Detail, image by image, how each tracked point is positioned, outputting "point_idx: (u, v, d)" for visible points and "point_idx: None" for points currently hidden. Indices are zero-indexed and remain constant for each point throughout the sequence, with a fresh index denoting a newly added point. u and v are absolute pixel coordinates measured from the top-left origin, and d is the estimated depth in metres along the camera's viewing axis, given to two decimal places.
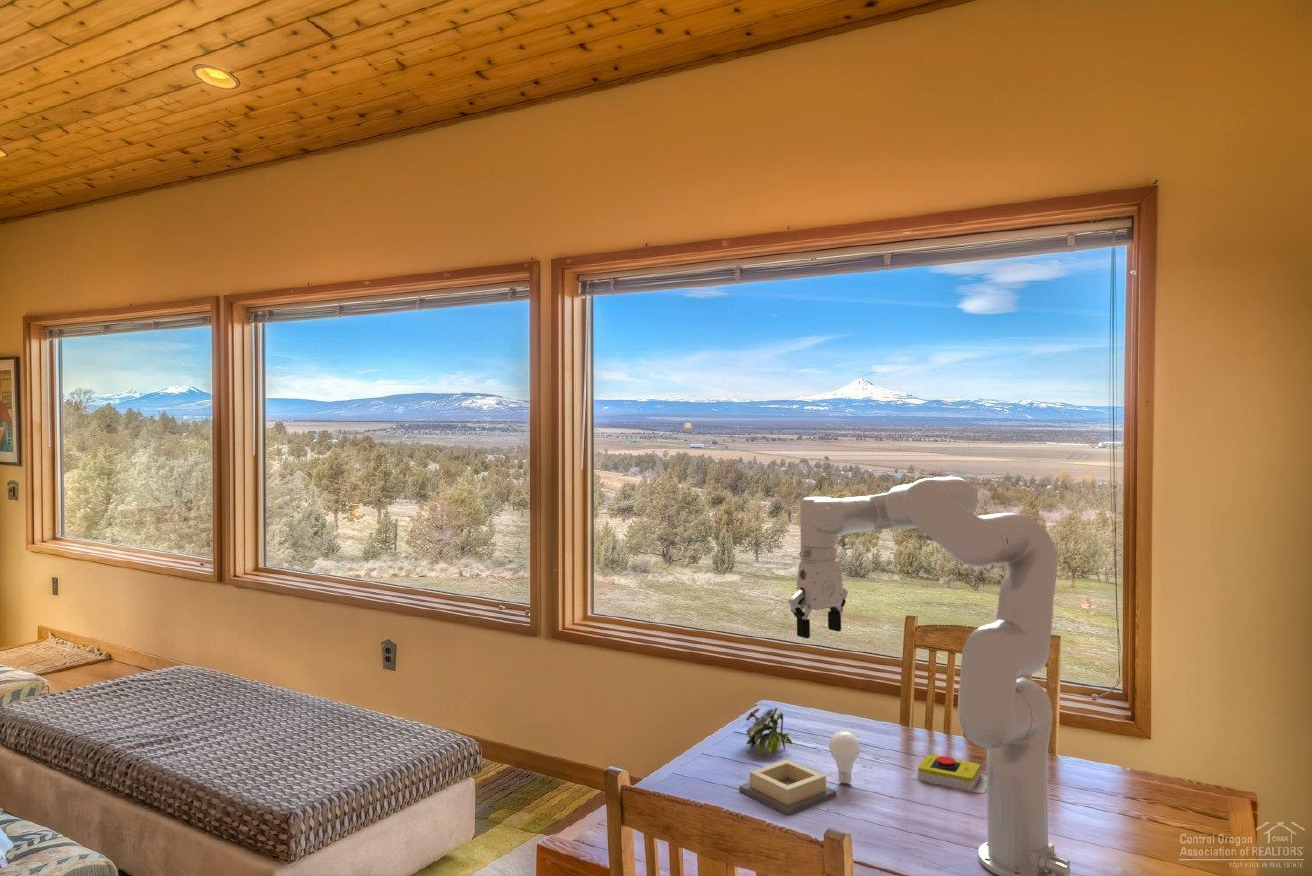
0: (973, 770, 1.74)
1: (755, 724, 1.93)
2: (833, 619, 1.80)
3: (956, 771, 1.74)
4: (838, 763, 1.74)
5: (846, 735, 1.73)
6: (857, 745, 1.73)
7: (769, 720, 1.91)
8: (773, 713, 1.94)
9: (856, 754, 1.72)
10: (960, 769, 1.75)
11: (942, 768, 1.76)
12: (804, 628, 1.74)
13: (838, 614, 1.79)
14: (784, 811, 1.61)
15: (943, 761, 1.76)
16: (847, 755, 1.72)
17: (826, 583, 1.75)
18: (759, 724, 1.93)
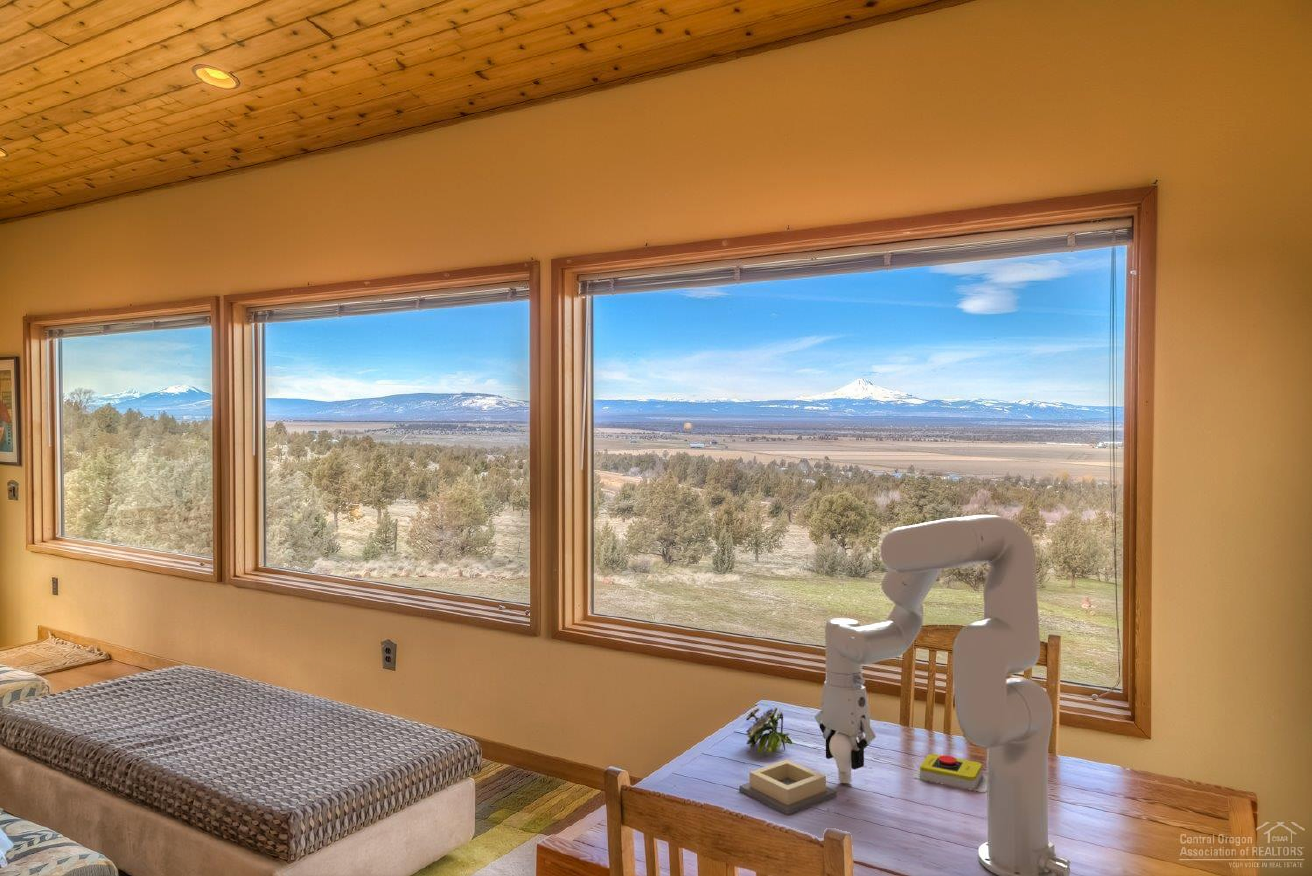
0: (975, 770, 1.75)
1: (755, 724, 1.93)
2: None
3: (958, 770, 1.75)
4: (838, 763, 1.74)
5: (846, 735, 1.73)
6: None
7: (769, 720, 1.91)
8: (773, 713, 1.94)
9: None
10: (962, 768, 1.76)
11: (944, 767, 1.76)
12: None
13: None
14: (784, 811, 1.61)
15: (945, 760, 1.77)
16: (847, 755, 1.72)
17: None
18: (759, 724, 1.93)
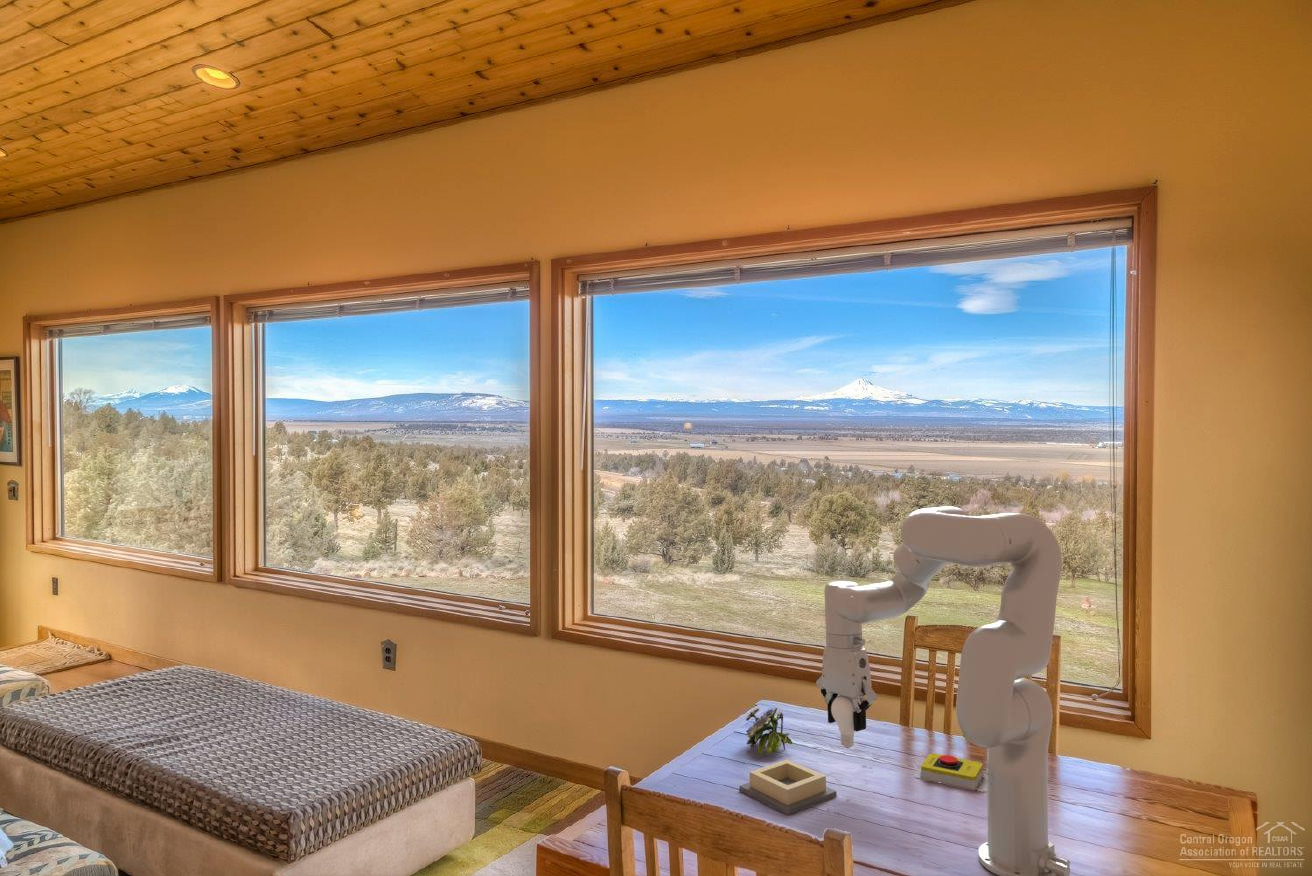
0: (976, 769, 1.75)
1: (755, 724, 1.93)
2: None
3: (958, 770, 1.75)
4: (840, 726, 1.73)
5: (848, 698, 1.73)
6: None
7: (769, 720, 1.91)
8: (773, 713, 1.94)
9: None
10: (963, 768, 1.76)
11: (945, 767, 1.76)
12: None
13: None
14: (784, 811, 1.61)
15: (946, 760, 1.77)
16: (849, 717, 1.71)
17: None
18: (759, 724, 1.93)
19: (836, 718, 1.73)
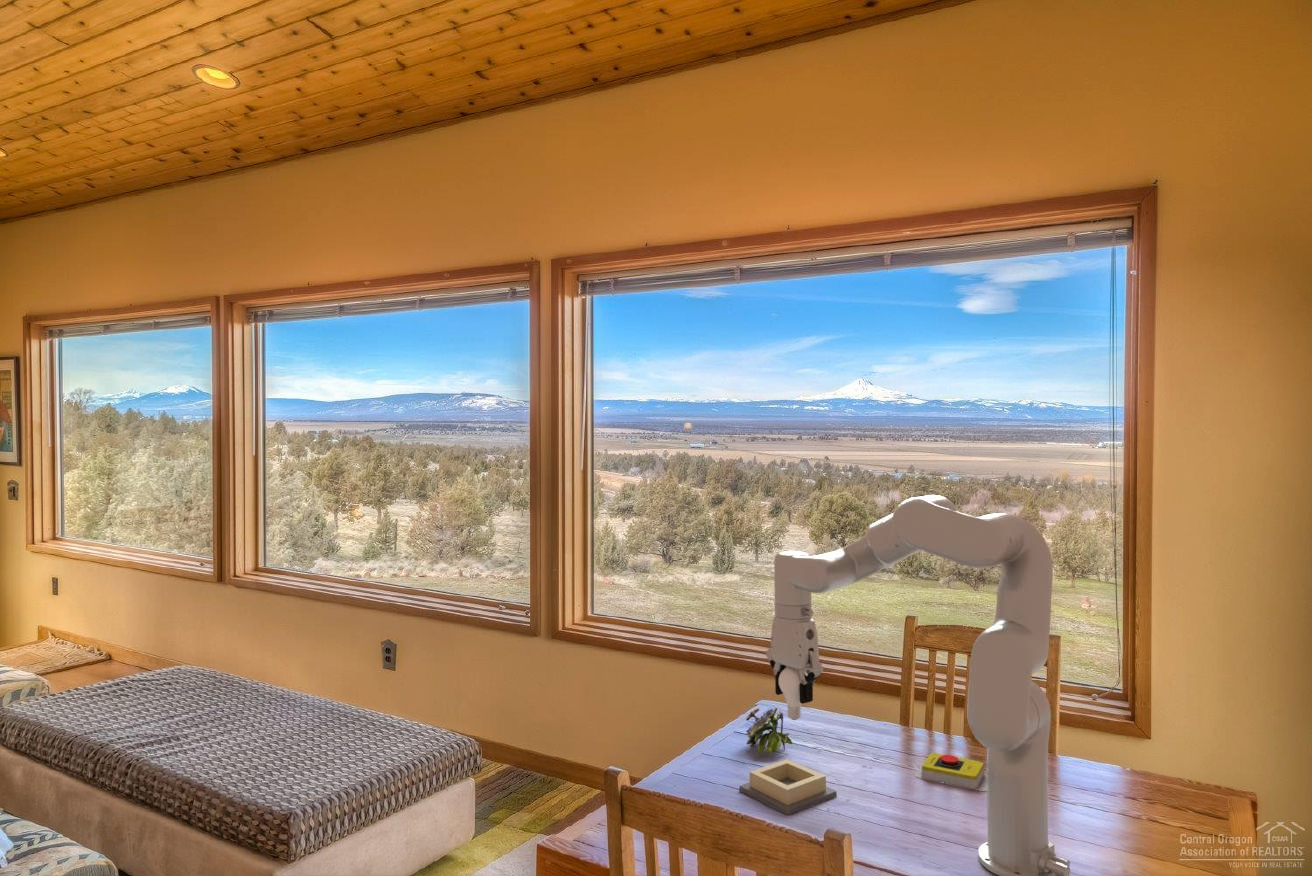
0: (977, 769, 1.75)
1: (755, 724, 1.93)
2: None
3: (959, 769, 1.75)
4: (787, 698, 1.70)
5: (795, 669, 1.70)
6: None
7: (769, 720, 1.91)
8: (773, 713, 1.94)
9: None
10: (963, 767, 1.76)
11: (946, 766, 1.76)
12: None
13: None
14: (784, 811, 1.61)
15: (947, 759, 1.77)
16: (796, 689, 1.68)
17: None
18: (759, 724, 1.93)
19: (783, 689, 1.69)
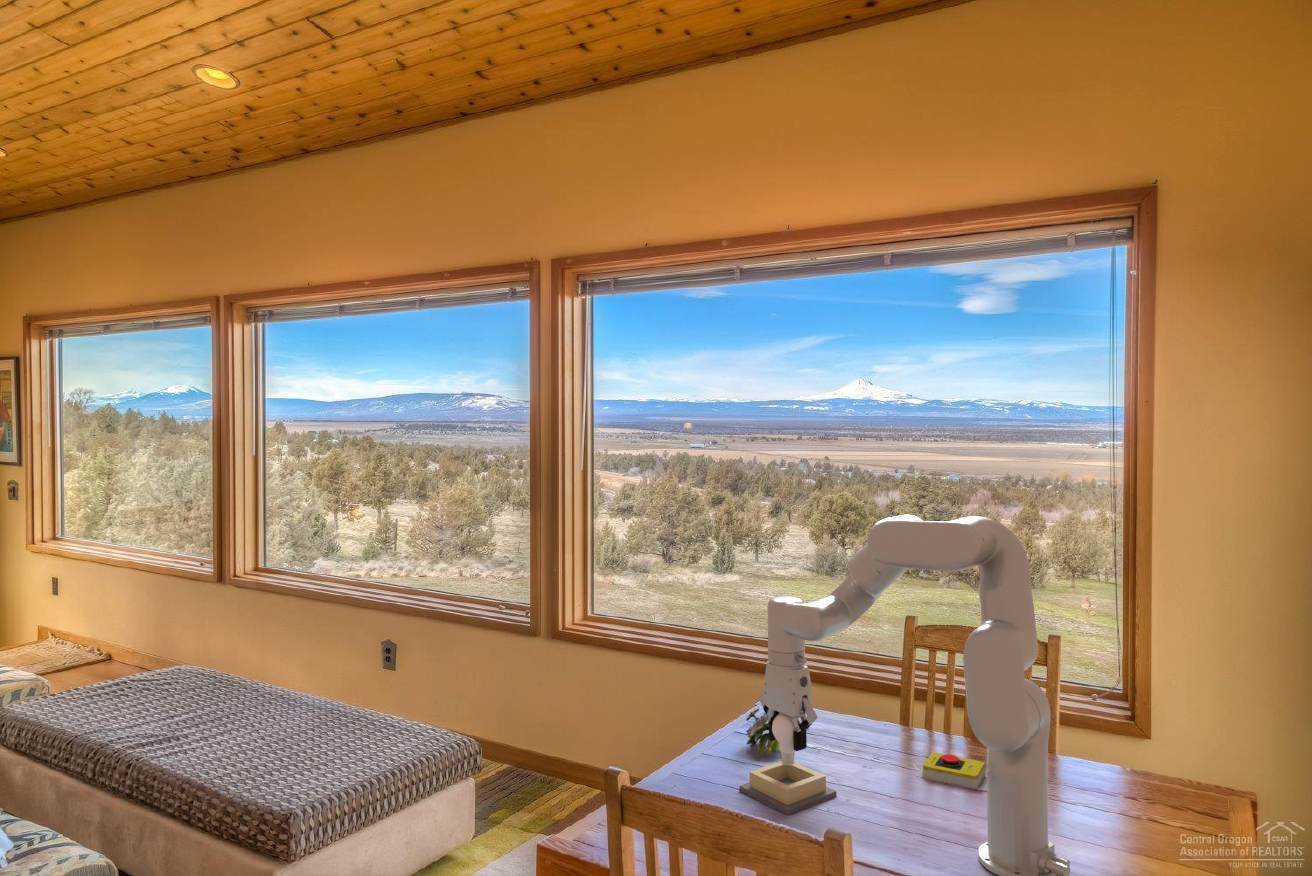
0: (978, 768, 1.75)
1: (755, 724, 1.93)
2: None
3: (960, 769, 1.75)
4: (780, 745, 1.69)
5: (789, 716, 1.69)
6: None
7: None
8: None
9: None
10: (964, 767, 1.76)
11: (946, 766, 1.77)
12: None
13: None
14: (784, 811, 1.61)
15: (947, 759, 1.77)
16: (789, 736, 1.67)
17: None
18: (759, 724, 1.93)
19: (776, 736, 1.69)
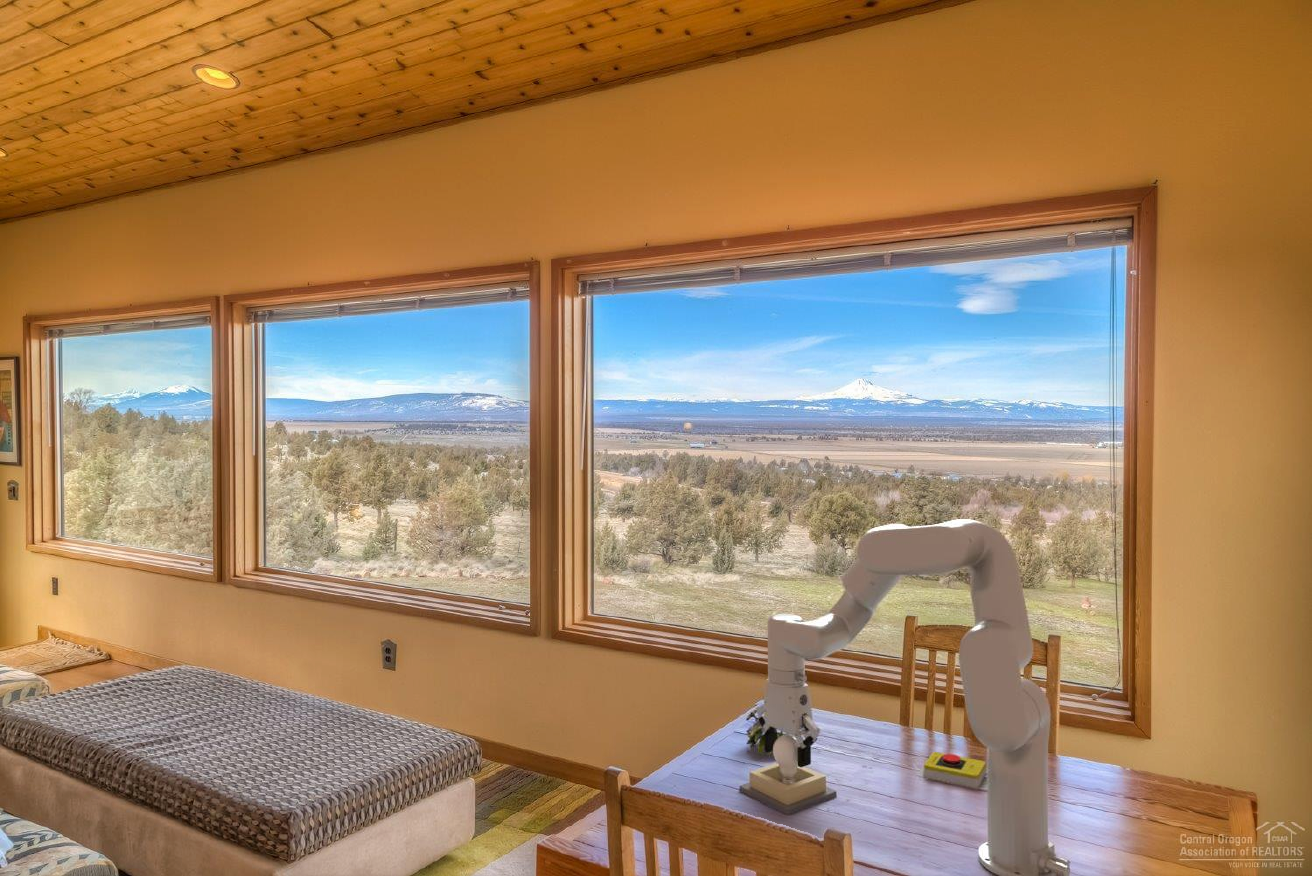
0: (979, 768, 1.76)
1: (755, 724, 1.93)
2: (772, 739, 1.74)
3: (961, 768, 1.75)
4: (781, 767, 1.69)
5: (790, 739, 1.69)
6: None
7: None
8: None
9: None
10: (965, 766, 1.76)
11: (948, 766, 1.77)
12: None
13: (776, 732, 1.75)
14: (784, 811, 1.61)
15: (949, 759, 1.78)
16: (790, 759, 1.67)
17: None
18: (759, 724, 1.93)
19: (777, 759, 1.69)
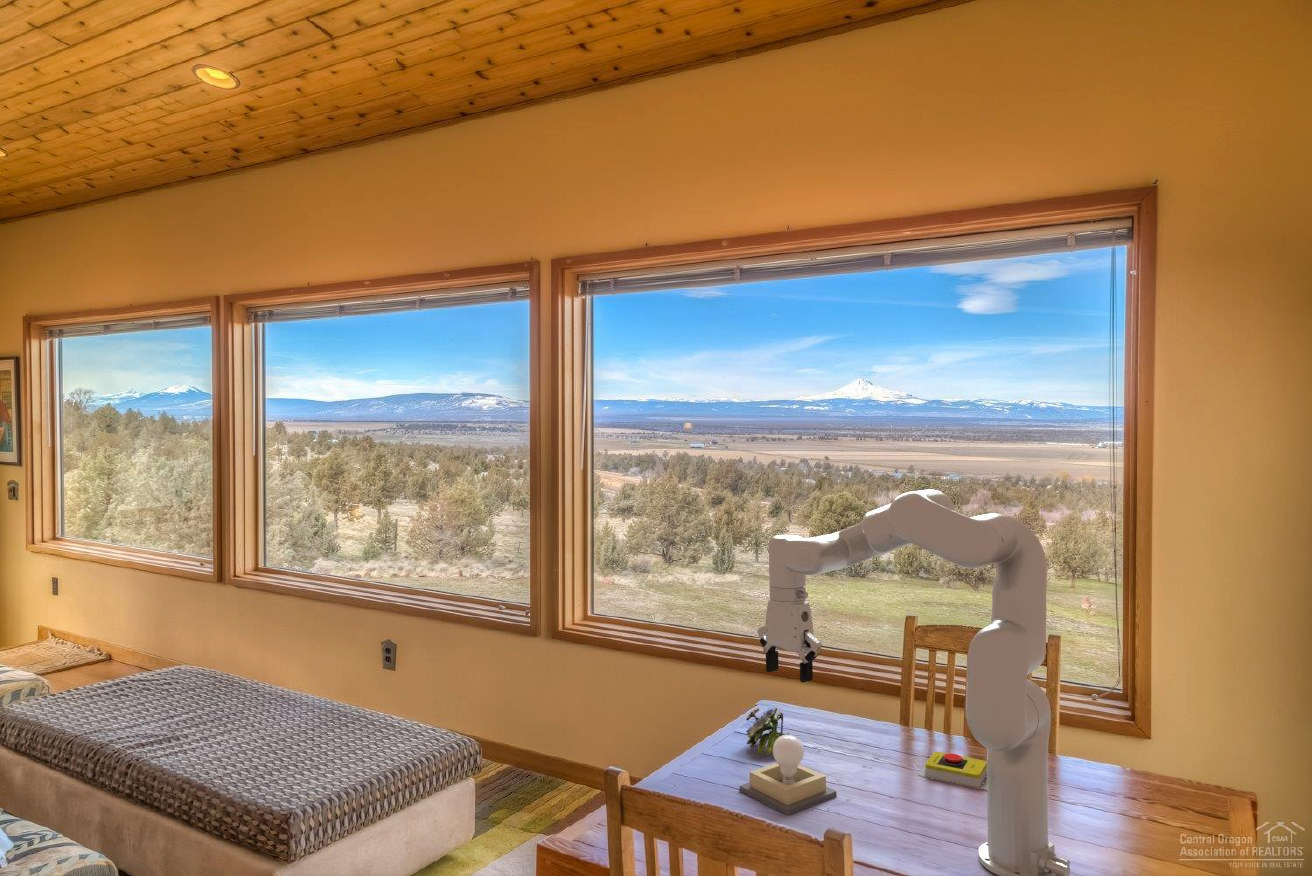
0: (980, 767, 1.76)
1: (755, 724, 1.93)
2: (773, 659, 1.76)
3: (963, 768, 1.76)
4: (781, 768, 1.69)
5: (789, 739, 1.69)
6: (800, 749, 1.68)
7: (769, 720, 1.91)
8: (773, 713, 1.94)
9: (799, 758, 1.68)
10: (967, 766, 1.77)
11: (949, 765, 1.77)
12: None
13: (777, 652, 1.77)
14: (784, 811, 1.61)
15: (950, 758, 1.78)
16: (790, 759, 1.67)
17: None
18: (759, 724, 1.93)
19: (777, 759, 1.69)
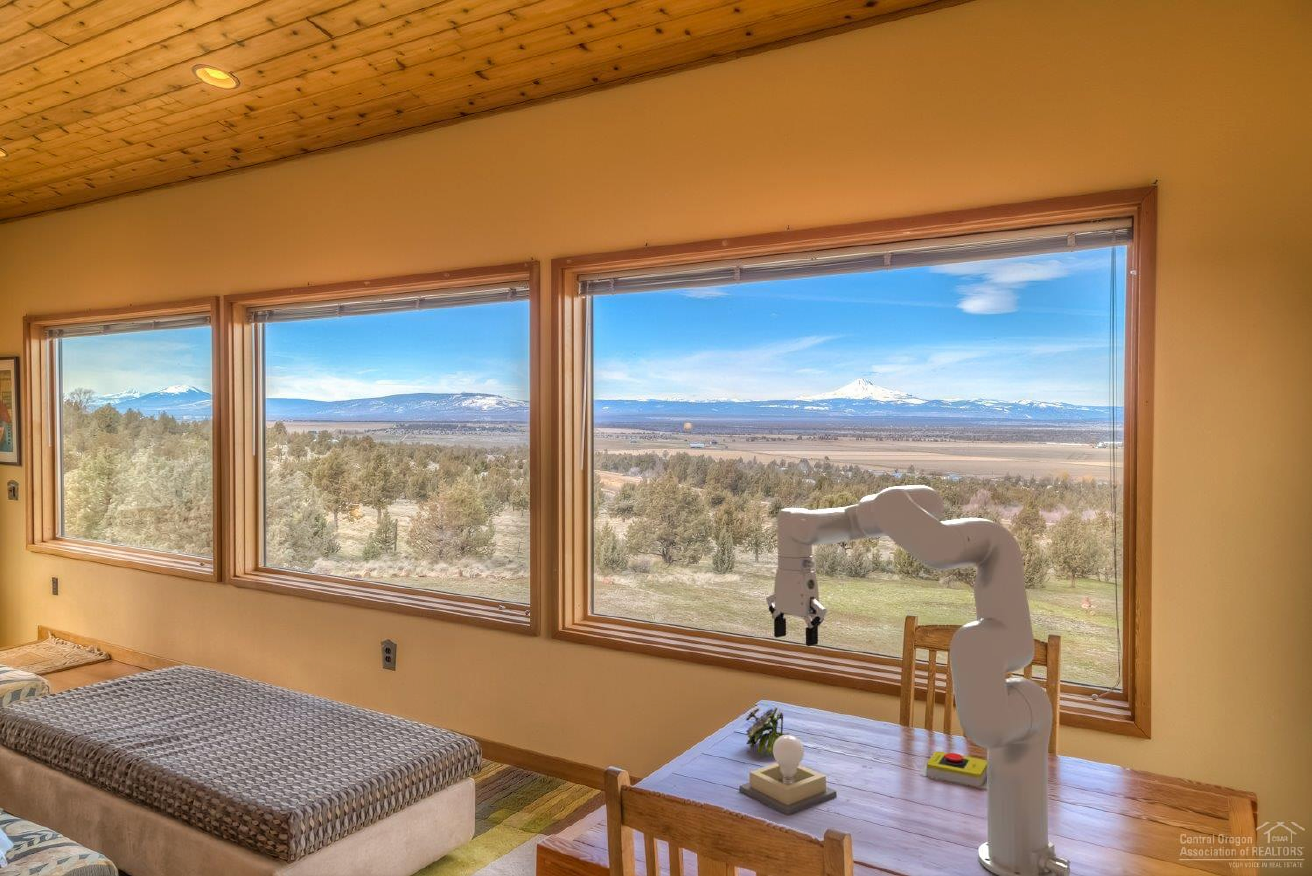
0: (981, 767, 1.76)
1: (755, 724, 1.93)
2: (781, 626, 1.87)
3: (964, 767, 1.76)
4: (781, 768, 1.69)
5: (789, 739, 1.69)
6: (800, 749, 1.68)
7: (769, 720, 1.91)
8: (773, 713, 1.94)
9: (799, 758, 1.68)
10: (968, 765, 1.77)
11: (950, 764, 1.77)
12: None
13: (785, 619, 1.88)
14: (784, 811, 1.61)
15: (951, 758, 1.78)
16: (790, 759, 1.67)
17: None
18: (759, 724, 1.93)
19: (777, 759, 1.69)
